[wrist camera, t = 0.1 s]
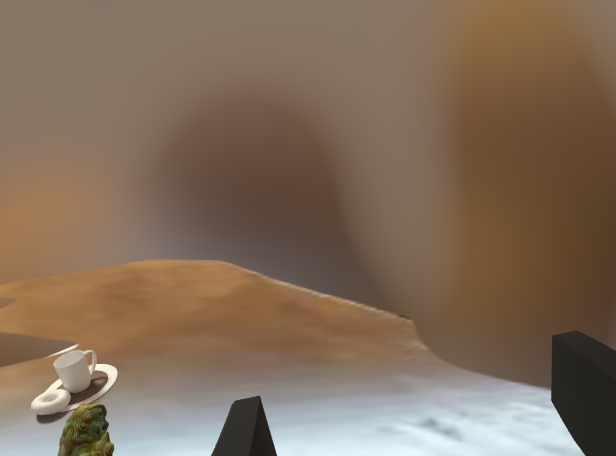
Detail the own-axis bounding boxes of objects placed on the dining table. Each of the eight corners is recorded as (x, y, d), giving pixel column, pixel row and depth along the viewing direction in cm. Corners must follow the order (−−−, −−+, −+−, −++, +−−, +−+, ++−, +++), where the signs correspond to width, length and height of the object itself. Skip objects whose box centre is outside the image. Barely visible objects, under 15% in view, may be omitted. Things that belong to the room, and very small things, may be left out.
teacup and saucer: (39, 432, 49) (24, 398, 48) (30, 395, 56) (17, 364, 54) (127, 389, 54) (115, 356, 52) (109, 359, 60) (99, 330, 59)
